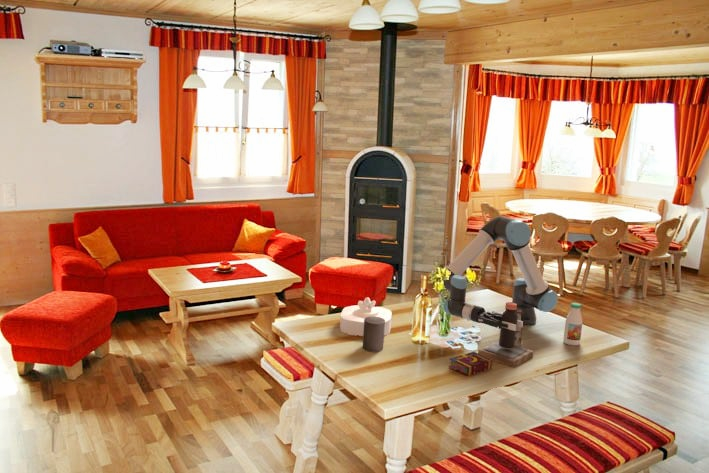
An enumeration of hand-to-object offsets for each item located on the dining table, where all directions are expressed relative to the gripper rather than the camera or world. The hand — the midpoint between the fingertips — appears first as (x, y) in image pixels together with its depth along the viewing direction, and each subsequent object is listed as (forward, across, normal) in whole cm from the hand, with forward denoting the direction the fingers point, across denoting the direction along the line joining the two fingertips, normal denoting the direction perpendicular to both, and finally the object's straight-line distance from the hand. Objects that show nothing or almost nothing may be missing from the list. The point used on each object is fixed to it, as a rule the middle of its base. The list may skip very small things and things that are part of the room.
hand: (518, 326), depth 277 cm
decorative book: (-9, +25, -16) cm, 31 cm away
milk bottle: (+9, -40, -16) cm, 44 cm away
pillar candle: (-52, +38, -16) cm, 67 cm away
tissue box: (-73, +20, -16) cm, 77 cm away
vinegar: (-5, 0, -11) cm, 12 cm away
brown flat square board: (-5, 0, -16) cm, 17 cm away
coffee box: (-11, -19, -16) cm, 27 cm away
